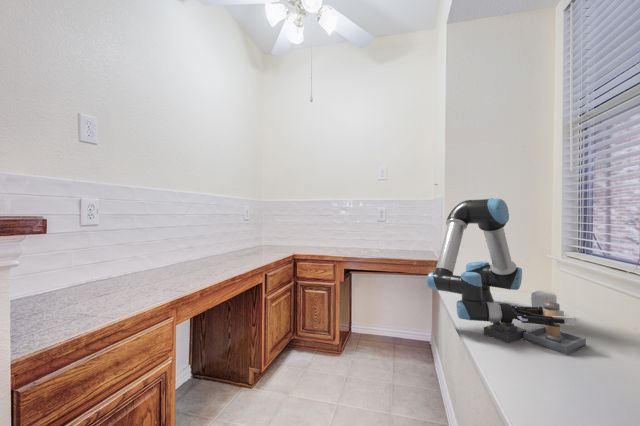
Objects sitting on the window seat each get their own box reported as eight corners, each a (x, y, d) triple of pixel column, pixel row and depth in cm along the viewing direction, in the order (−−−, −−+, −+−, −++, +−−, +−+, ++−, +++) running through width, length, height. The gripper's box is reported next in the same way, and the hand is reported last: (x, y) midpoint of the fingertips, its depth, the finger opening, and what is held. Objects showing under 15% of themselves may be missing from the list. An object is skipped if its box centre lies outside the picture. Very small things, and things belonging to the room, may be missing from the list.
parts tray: (543, 333, 119) (542, 325, 119) (586, 346, 106) (585, 338, 106) (523, 340, 113) (523, 332, 113) (566, 355, 100) (566, 346, 100)
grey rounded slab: (552, 315, 139) (551, 289, 140) (559, 318, 135) (557, 292, 135) (530, 315, 140) (529, 289, 140) (536, 318, 136) (535, 292, 136)
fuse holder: (501, 328, 124) (501, 317, 124) (526, 337, 115) (526, 325, 115) (483, 334, 119) (483, 322, 119) (508, 343, 110) (508, 331, 110)
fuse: (549, 337, 113) (548, 301, 113) (563, 341, 108) (561, 304, 109) (543, 339, 111) (541, 302, 111) (557, 343, 106) (555, 305, 107)
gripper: (493, 313, 125) (556, 318, 118) (507, 331, 106) (583, 338, 98) (492, 296, 125) (555, 300, 118) (506, 311, 106) (582, 316, 99)
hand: (568, 317), depth 108 cm, fingers open, 7 cm apart
